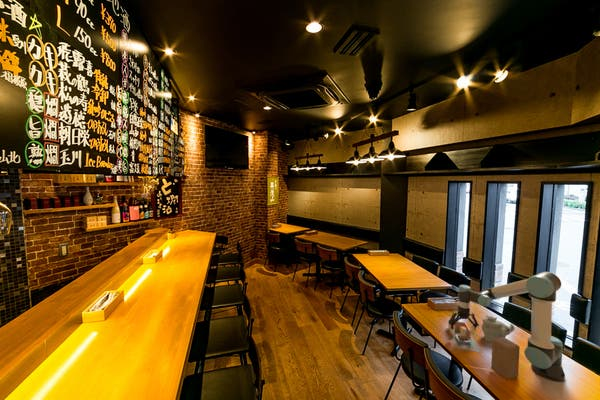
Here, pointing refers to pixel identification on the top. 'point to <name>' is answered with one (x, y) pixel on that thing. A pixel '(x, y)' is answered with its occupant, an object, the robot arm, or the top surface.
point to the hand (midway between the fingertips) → (462, 334)
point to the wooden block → (505, 357)
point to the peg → (462, 333)
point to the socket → (462, 340)
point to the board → (471, 347)
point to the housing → (457, 327)
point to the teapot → (495, 328)
